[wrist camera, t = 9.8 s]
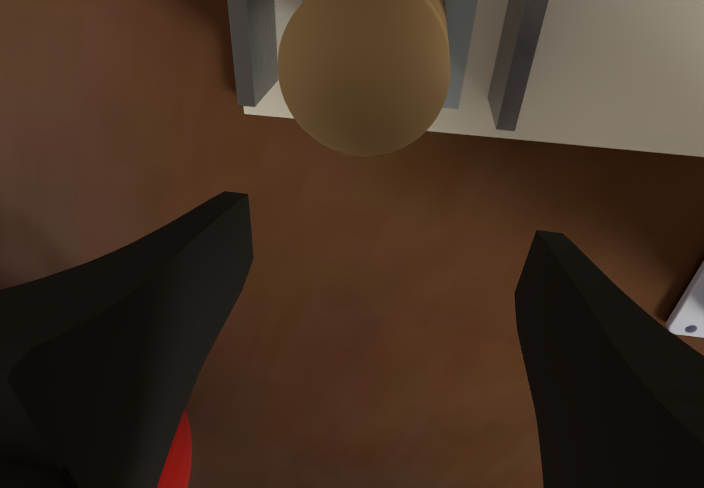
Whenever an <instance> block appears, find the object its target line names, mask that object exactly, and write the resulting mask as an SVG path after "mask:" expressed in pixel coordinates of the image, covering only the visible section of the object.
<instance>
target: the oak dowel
mask: <svg viewBox="0 0 704 488" xmlns="http://www.w3.org/2000/svg"><path fill="white" fill-rule="evenodd" d="M277 69H278V79H279V84H280V88H281V92H282V95H283V98H284V100H285V103H286V105H287V107H288V109H289V111H290V113H291V114H292V116H293V117H294V119H295V120H296V121H297V123H298V124H299V125H300V126H301V127H302V129H303V130H304V131H306V132H307V133H308V134H309V135H310V136H311V137H312V138H314V139H315V140H316V141H318V142H319V143H321V144H323V145H324V146H326V147H328V148H330V149H332V150H335V151H337V152H340V153H344V154H347V155H353V156H363V157H371V156H380V155H385V154H389V153H392V152H395V151H398V150H400V149H402V148H404V147H406V146H408V145H409V144H411V143H413V142H414V141H416V140H417V139H418V138H419V137H420V136H422V135H423V134H424V133H425V132H426V131H427V130H428V129H429V127H430V126H431V125H432V124H433V122H434V121H435V120H436V118H437V117H438V115H439V113H440V111H441V109H442V107H443V105H444V102H445V99H446V97H447V93H448V89H449V84H450V74H451V69H450V53H449V42H448V31H447V19H446V8H445V1H444V0H305V1H304V2H303V3H302V4H301V5H300V6H299V7H298V9H297V10H296V11H295V12H294V14H293V15H292V17H291V19H290V20H289V22H288V24H287V26H286V28H285V30H284V33H283V35H282V39H281V42H280V46H279V52H278V68H277Z"/></svg>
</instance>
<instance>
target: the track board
mask: <svg viewBox="0 0 704 488" xmlns="http://www.w3.org/2000/svg"><path fill="white" fill-rule="evenodd" d="M274 1H275V21H276V41H277V62H278V52H279V46H280V42H281V39H282V35H283V33H284V30H285V28H286V26H287V24H288V22H289V20H290V19H291V17H292V15H293V14H294V12H295V11H296V10H297V9H298V7H299V6H300V5H301V4H302V3H303V2H304V1H305V0H274ZM444 1H445V8H446V19H447V31H448V42H449V53H450V69H451V74H450V84H449V89H448V93H447V97H446V99H445V102H444V105H443V107H442V109H441V111H440V113H439V115H438V117H437V118H436V120H435V121H434V122H433V124H432V125H431V126H430V127H429V129H428V130H427V131H433V132H444V133H454V134H465V135H476V136H486V137H497V138H507V139H518V140H529V141H539V142H550V143H561V144H571V145H582V146H592V147H603V148H614V149H624V150H635V151H645V152H656V153H667V154H677V155H688V156H698V157H704V0H549V1H548V5H547V9H546V13H545V16H544V20H543V24H542V28H541V32H540V36H539V40H538V44H537V47H536V51H535V55H534V59H533V63H532V67H531V71H530V75H529V78H528V82H527V86H526V90H525V94H524V98H523V102H522V106H521V109H520V113H519V117H518V121H517V125H516V129H515V131H508V130H497V129H496V128H495V124H494V120H493V116H492V113H491V109H490V105H489V102H488V94H489V89H490V84H491V80H492V75H493V70H494V66H495V61H496V56H497V52H498V47H499V42H500V38H501V33H502V28H503V23H504V19H505V14H506V9H507V5H508V0H444ZM244 114H253V115H263V116H274V117H285V118H294V117H293V116H292V114H291V113H290V111H289V109H288V107H287V105H286V103H285V100H284V98H283V95H282V92H281V88H280V84H279V79H278V81H277V82H276V83H275V84H274V86H273V87H272V88H271V89H270V90H269V91H268V93H267V94H266V95H265V96H264V97H263V98H262V100H261V101H260V102H259V103H258V104H257V105H256V107H249V106H244Z"/></svg>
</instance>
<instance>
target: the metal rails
mask: <svg viewBox="0 0 704 488" xmlns="http://www.w3.org/2000/svg"><path fill="white" fill-rule="evenodd" d="M548 1H549V0H508V5H507V9H506V14H505V19H504V23H503V28H502V33H501V38H500V42H499V47H498V52H497V56H496V61H495V66H494V70H493V75H492V80H491V84H490V89H489V94H488V102H489V105H490V109H491V113H492V116H493V120H494V124H495V128H496V129H497V130H508V131H515V129H516V125H517V121H518V117H519V113H520V109H521V106H522V102H523V98H524V94H525V90H526V86H527V82H528V78H529V75H530V71H531V67H532V63H533V59H534V55H535V51H536V47H537V44H538V40H539V36H540V32H541V28H542V24H543V20H544V16H545V13H546V9H547V5H548ZM227 3H228V13H229V23H230V33H231V43H232V52H233V62H234V72H235V82H236V92H237V101H238V106H249V107H256V105H257V104H258V103H259V102H260V101H261V100H262V98H263V97H264V96H265V95H266V94H267V93H268V91H269V90H270V89H271V88H272V87H273V86H274V84H275V83H276V82H277V81H278V69H277V68H278V62H277V41H276V21H275V1H274V0H227Z"/></svg>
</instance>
